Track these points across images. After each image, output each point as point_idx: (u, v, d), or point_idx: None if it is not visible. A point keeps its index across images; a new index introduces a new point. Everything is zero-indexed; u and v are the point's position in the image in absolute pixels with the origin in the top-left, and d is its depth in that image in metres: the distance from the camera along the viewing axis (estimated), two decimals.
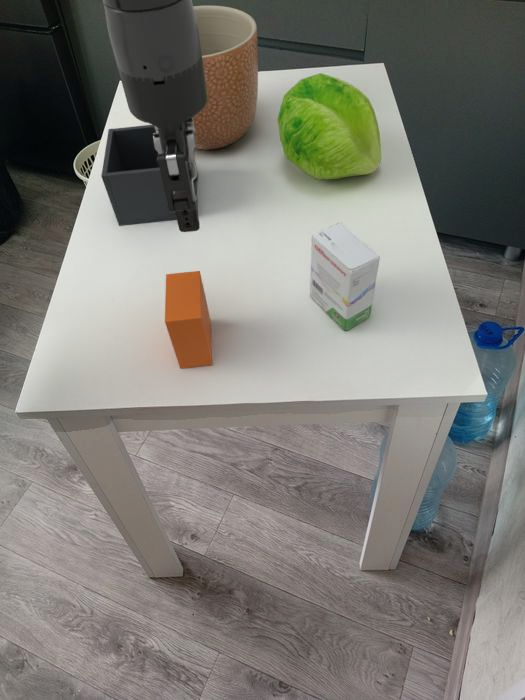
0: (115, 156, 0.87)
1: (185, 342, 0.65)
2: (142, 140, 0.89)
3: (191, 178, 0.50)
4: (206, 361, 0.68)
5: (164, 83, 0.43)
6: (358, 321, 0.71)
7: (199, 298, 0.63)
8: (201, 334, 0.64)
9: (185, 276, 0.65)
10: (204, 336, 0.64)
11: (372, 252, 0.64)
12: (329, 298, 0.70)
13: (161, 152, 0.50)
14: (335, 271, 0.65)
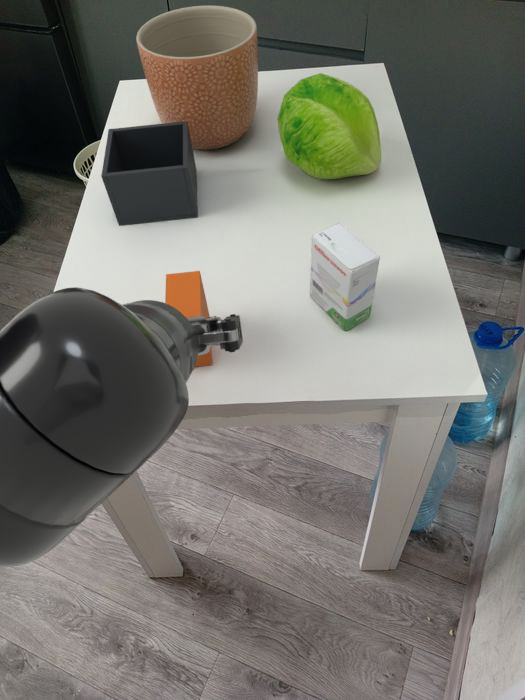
0: (115, 156, 0.87)
1: None
2: (142, 140, 0.89)
3: None
4: (206, 361, 0.68)
5: None
6: (358, 321, 0.71)
7: (199, 298, 0.63)
8: None
9: (185, 276, 0.65)
10: None
11: (372, 252, 0.64)
12: (329, 298, 0.70)
13: None
14: (335, 271, 0.65)
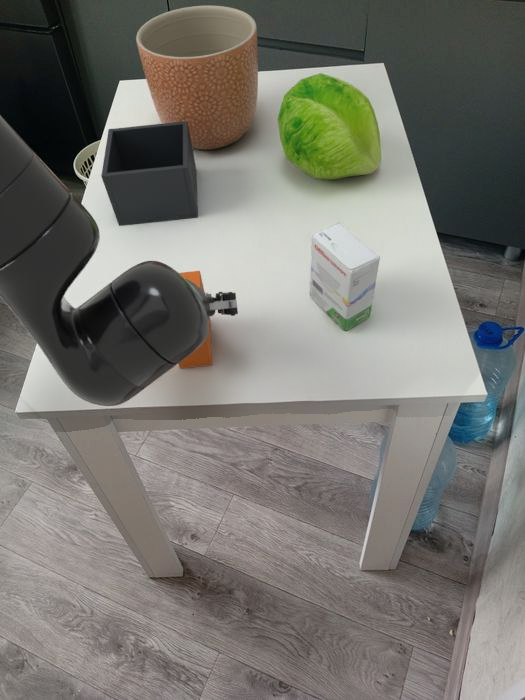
0: (115, 156, 0.87)
1: None
2: (142, 140, 0.89)
3: None
4: (206, 361, 0.68)
5: None
6: (358, 321, 0.71)
7: None
8: None
9: (185, 276, 0.65)
10: None
11: (372, 252, 0.64)
12: (329, 298, 0.70)
13: None
14: (335, 271, 0.65)
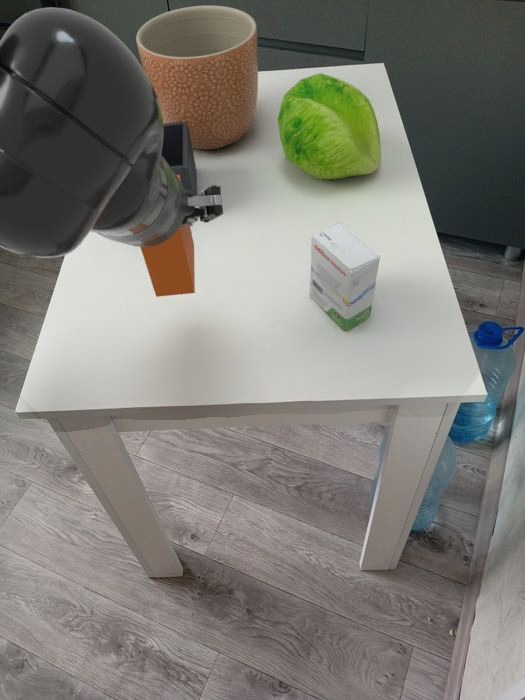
0: None
1: (161, 258, 0.53)
2: None
3: None
4: (188, 288, 0.57)
5: None
6: (358, 321, 0.71)
7: None
8: (179, 248, 0.52)
9: None
10: (183, 251, 0.53)
11: (372, 252, 0.64)
12: (329, 298, 0.70)
13: None
14: (335, 271, 0.65)
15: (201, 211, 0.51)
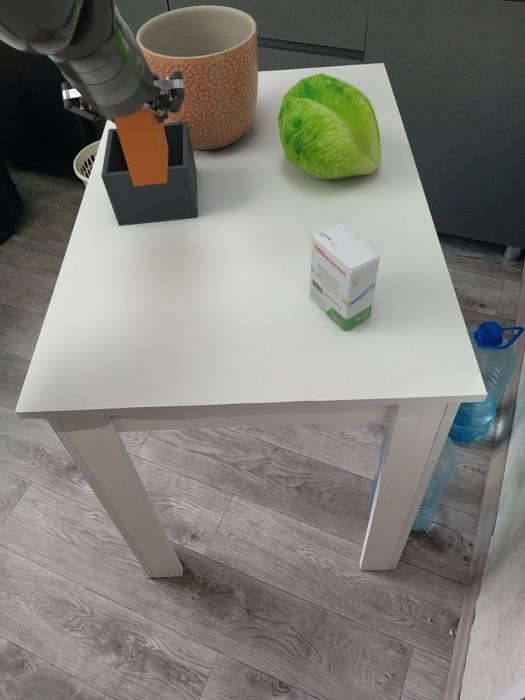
0: (115, 156, 0.87)
1: (136, 145, 0.63)
2: None
3: None
4: (160, 177, 0.67)
5: None
6: (358, 321, 0.71)
7: None
8: (151, 135, 0.62)
9: None
10: (155, 138, 0.62)
11: (372, 252, 0.64)
12: (329, 298, 0.70)
13: None
14: (335, 271, 0.65)
15: (169, 102, 0.61)
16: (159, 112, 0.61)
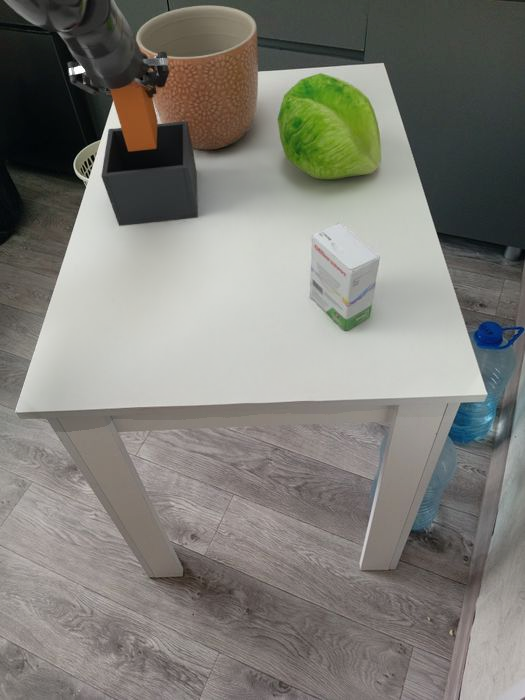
0: (115, 156, 0.87)
1: (129, 115, 0.75)
2: None
3: (104, 88, 0.72)
4: (151, 143, 0.79)
5: None
6: (358, 321, 0.71)
7: None
8: (142, 106, 0.74)
9: None
10: (145, 109, 0.75)
11: (372, 252, 0.64)
12: (329, 298, 0.70)
13: None
14: (335, 271, 0.65)
15: (156, 78, 0.73)
16: (148, 87, 0.74)
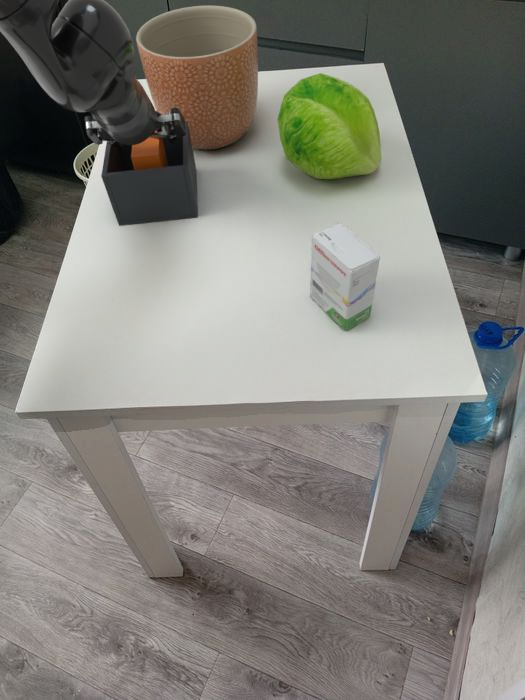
0: (115, 156, 0.87)
1: None
2: None
3: (112, 139, 0.78)
4: None
5: None
6: (358, 321, 0.71)
7: (158, 143, 0.82)
8: None
9: None
10: None
11: (372, 252, 0.64)
12: (329, 298, 0.70)
13: None
14: (335, 271, 0.65)
15: None
16: (171, 136, 0.79)
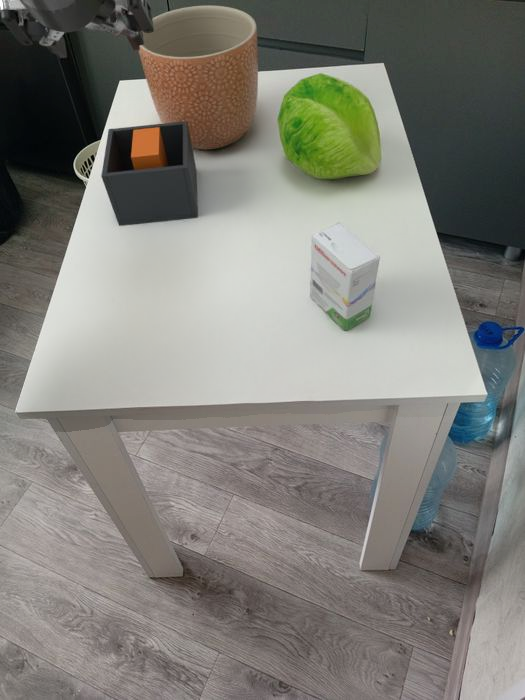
0: (115, 156, 0.87)
1: None
2: None
3: (44, 35, 0.53)
4: None
5: None
6: (358, 321, 0.71)
7: (158, 143, 0.82)
8: None
9: (148, 130, 0.85)
10: None
11: (372, 252, 0.64)
12: (329, 298, 0.70)
13: None
14: (335, 271, 0.65)
15: None
16: (132, 32, 0.55)
